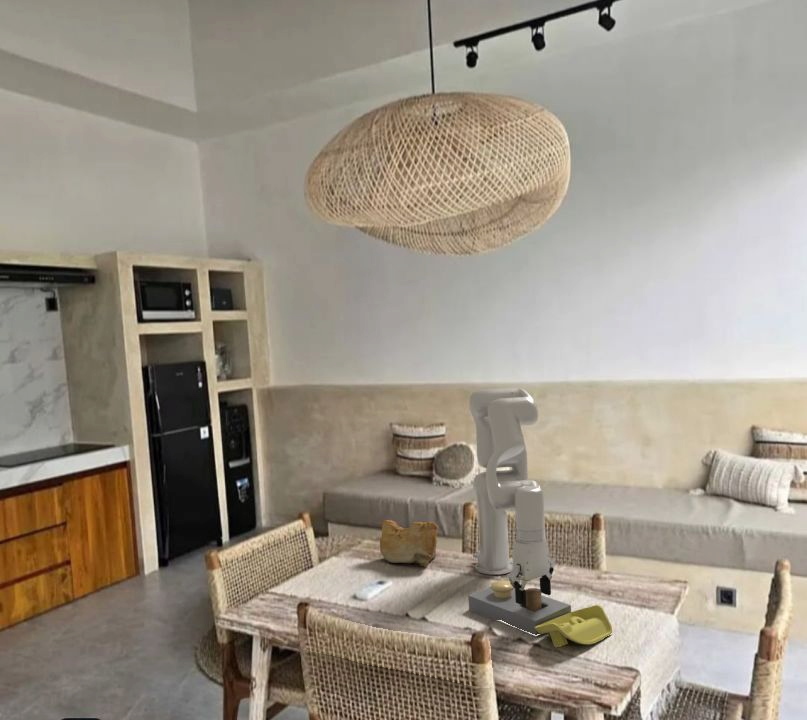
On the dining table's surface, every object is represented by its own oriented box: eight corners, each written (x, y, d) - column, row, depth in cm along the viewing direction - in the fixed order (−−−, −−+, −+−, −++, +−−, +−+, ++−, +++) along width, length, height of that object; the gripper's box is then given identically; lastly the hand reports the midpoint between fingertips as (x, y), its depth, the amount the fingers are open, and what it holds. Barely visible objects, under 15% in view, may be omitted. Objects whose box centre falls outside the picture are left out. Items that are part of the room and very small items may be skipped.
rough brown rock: (459, 562, 228) (458, 517, 229) (430, 572, 215) (428, 525, 216) (406, 553, 243) (405, 511, 244) (375, 562, 230) (375, 518, 231)
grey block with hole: (468, 609, 185) (467, 585, 185) (503, 595, 194) (502, 572, 193) (536, 636, 166) (534, 609, 166) (571, 620, 175) (570, 594, 175)
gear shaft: (523, 620, 176) (522, 590, 176) (533, 616, 178) (532, 586, 178) (535, 625, 173) (534, 594, 173) (545, 620, 175) (544, 590, 175)
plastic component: (573, 611, 175) (603, 603, 169) (584, 640, 173) (615, 633, 166) (526, 629, 162) (558, 621, 155) (537, 661, 159) (570, 655, 153)
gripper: (541, 524, 183) (543, 586, 184) (497, 538, 173) (500, 604, 173) (563, 529, 177) (565, 593, 178) (519, 544, 167) (522, 612, 167)
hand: (533, 598), depth 175 cm, fingers open, 9 cm apart
